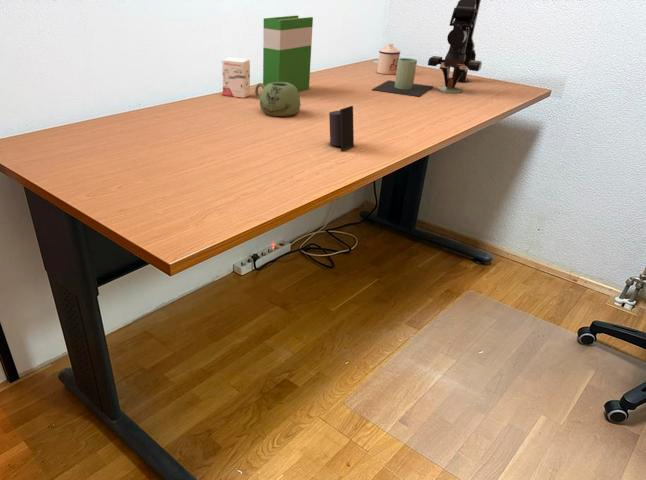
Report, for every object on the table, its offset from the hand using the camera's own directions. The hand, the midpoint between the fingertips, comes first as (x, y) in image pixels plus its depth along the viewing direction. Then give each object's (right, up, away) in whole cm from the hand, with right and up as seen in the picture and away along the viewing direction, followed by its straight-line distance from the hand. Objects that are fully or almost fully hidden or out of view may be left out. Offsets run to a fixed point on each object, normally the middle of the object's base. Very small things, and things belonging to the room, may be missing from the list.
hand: (449, 87), depth 192 cm
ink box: (-81, -9, -17) cm, 83 cm away
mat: (-18, 0, +1) cm, 18 cm away
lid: (0, -1, +1) cm, 1 cm away
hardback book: (-63, -5, -8) cm, 64 cm away
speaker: (-50, -38, -60) cm, 87 cm away
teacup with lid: (-18, +17, +28) cm, 37 cm away
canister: (-18, 0, +1) cm, 18 cm away
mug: (-66, -20, -34) cm, 77 cm away
